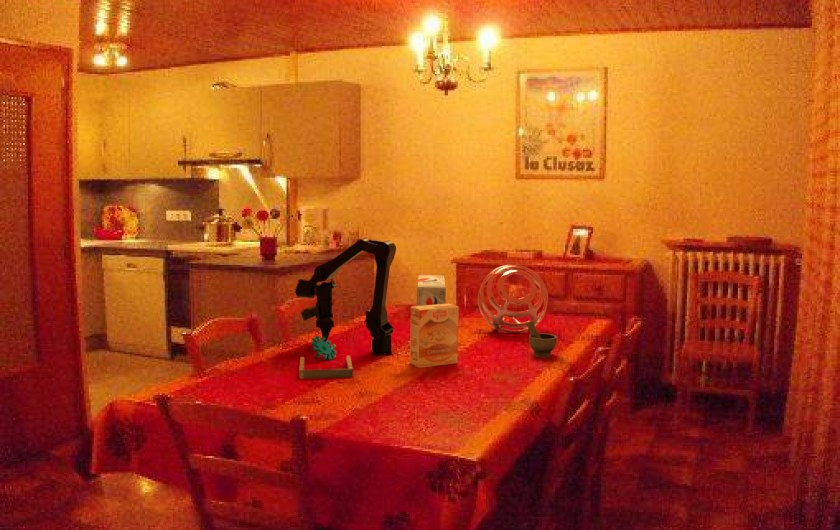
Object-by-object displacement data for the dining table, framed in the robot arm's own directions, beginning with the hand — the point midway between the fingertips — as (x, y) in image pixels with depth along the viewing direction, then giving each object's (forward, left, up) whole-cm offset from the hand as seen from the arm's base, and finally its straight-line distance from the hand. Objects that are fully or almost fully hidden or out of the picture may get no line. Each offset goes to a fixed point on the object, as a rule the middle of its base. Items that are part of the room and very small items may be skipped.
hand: (324, 341), depth 270 cm
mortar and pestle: (-75, +19, -2) cm, 77 cm away
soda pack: (-50, -70, -2) cm, 85 cm away
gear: (0, +16, -2) cm, 16 cm away
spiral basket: (-75, -20, -2) cm, 78 cm away
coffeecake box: (-36, +26, -2) cm, 44 cm away
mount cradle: (0, +31, -2) cm, 31 cm away
